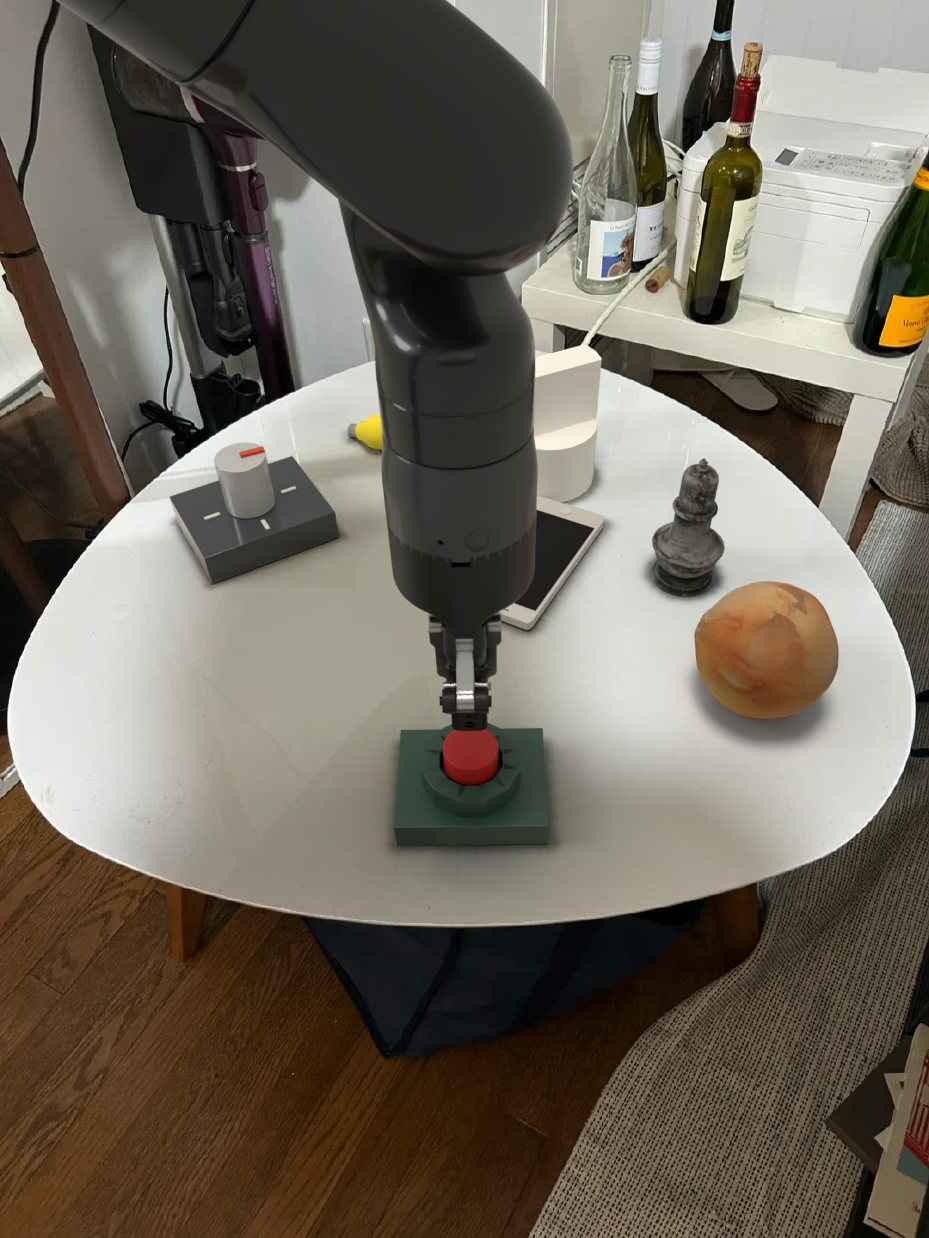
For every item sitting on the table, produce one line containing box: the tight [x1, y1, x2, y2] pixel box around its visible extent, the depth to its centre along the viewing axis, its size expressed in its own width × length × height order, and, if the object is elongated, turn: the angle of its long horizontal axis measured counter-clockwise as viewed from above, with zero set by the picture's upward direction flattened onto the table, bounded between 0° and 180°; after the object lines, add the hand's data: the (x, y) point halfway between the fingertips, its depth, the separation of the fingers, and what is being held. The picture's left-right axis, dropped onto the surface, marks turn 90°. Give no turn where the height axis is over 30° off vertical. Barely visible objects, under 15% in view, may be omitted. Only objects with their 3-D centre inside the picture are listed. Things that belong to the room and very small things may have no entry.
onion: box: [693, 580, 840, 720], centre depth 66 cm, size 10×10×10 cm
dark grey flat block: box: [169, 455, 340, 585], centre depth 83 cm, size 12×10×3 cm
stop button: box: [443, 729, 498, 785], centre depth 60 cm, size 4×4×2 cm
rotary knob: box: [213, 441, 276, 519], centre depth 80 cm, size 4×4×5 cm
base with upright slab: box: [534, 344, 603, 503], centre depth 85 cm, size 9×9×12 cm
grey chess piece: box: [650, 457, 726, 598], centre depth 74 cm, size 6×6×12 cm
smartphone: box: [499, 495, 606, 631], centre depth 80 cm, size 7×16×1 cm, turn 151°
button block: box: [393, 722, 550, 847], centre depth 62 cm, size 10×8×4 cm
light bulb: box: [346, 413, 383, 451], centre depth 93 cm, size 3×6×4 cm, turn 57°
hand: (469, 721), depth 58 cm, fingers closed
